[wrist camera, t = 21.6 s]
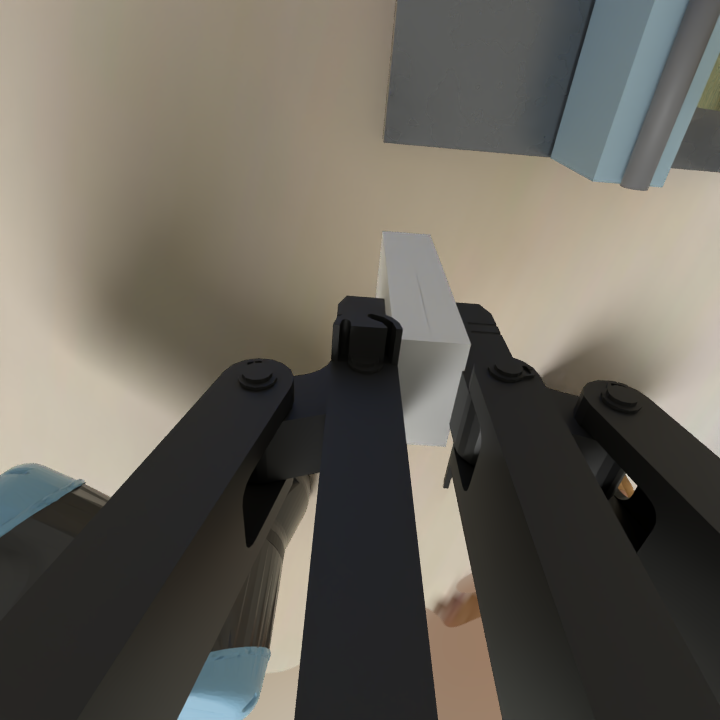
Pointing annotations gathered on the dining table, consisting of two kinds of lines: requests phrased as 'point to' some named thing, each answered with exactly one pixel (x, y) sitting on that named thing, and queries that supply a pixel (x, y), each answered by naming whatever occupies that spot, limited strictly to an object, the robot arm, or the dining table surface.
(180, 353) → the dining table surface
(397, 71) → the grey l-shaped bracket
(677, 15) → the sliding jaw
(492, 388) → the robot arm
